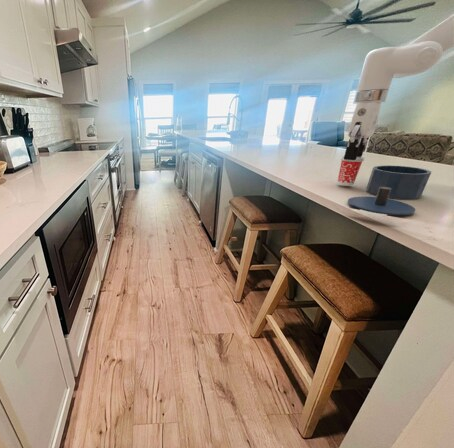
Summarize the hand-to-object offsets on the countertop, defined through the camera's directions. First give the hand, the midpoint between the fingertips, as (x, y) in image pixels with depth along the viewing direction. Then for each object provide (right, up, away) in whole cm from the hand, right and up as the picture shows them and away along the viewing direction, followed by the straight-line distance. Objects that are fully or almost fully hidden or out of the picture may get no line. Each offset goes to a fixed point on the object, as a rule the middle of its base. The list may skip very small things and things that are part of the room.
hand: (352, 157), depth 80 cm
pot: (+8, -13, -5) cm, 16 cm away
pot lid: (-6, -17, -15) cm, 24 cm away
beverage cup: (0, -8, +4) cm, 9 cm away
